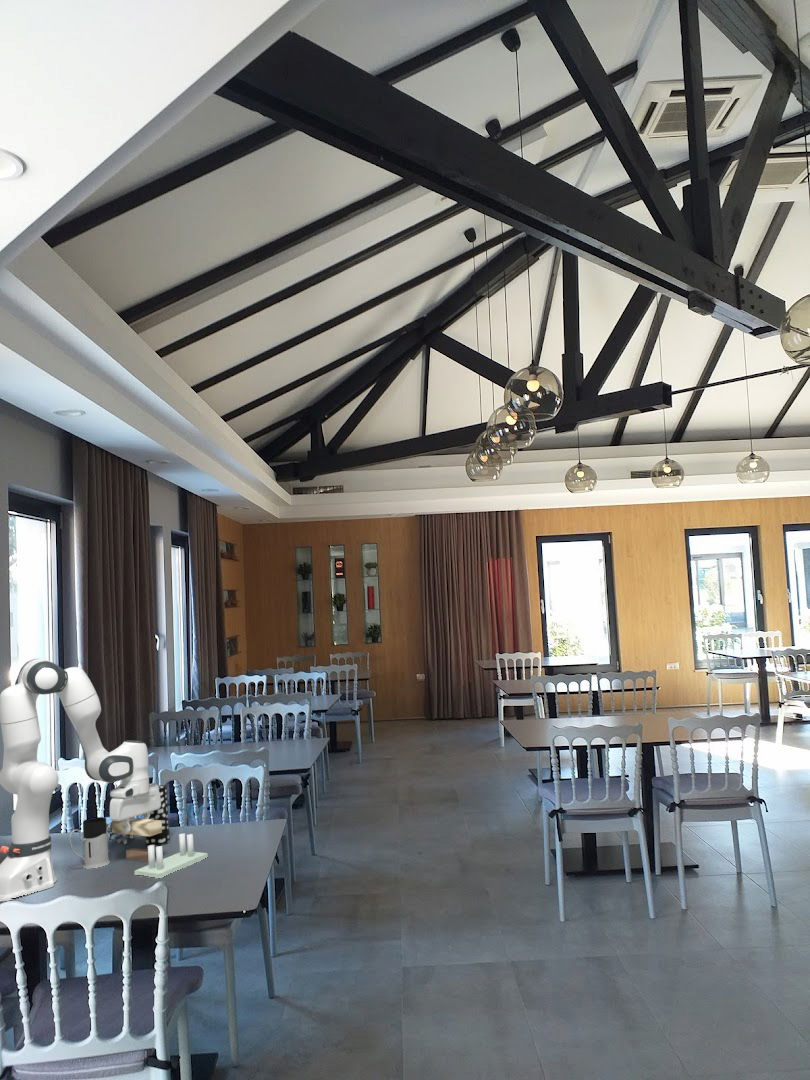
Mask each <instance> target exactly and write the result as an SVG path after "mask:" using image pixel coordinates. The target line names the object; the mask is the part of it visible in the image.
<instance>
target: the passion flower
mask: <svg viewBox="0 0 810 1080" xmlns="http://www.w3.org/2000/svg"><path fill="white" fill-rule="evenodd" d="M106 826H107V834H108V835H109V836H108V841H112V842H114V840H115V842H116V844H117V845H120V844H122V845H124V846H126V845H125V844H127V843H128V839H131V840H133V838H134V839H135V835H131V834H121V833H112V821H111V822H110V823H106Z"/></svg>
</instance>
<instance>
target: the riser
mask: <svg viewBox="0 0 810 1080" xmlns="http://www.w3.org/2000/svg"><path fill="white" fill-rule="evenodd" d="M125 856H126V860H131V861H137V860H143V861H142V862H145V861H148V848H137V847H132V848H129V849H126V850H125ZM148 862H149V861H148Z"/></svg>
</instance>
